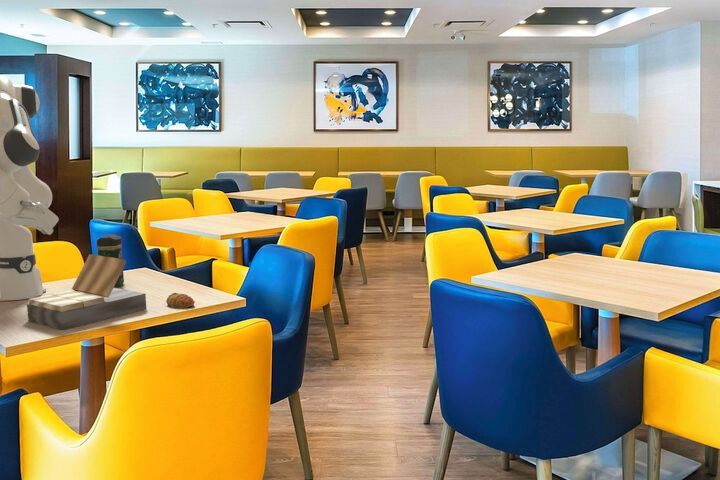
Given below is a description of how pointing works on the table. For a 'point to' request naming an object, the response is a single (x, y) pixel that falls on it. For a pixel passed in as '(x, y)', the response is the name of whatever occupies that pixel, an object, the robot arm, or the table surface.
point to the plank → (99, 275)
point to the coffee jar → (111, 251)
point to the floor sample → (82, 307)
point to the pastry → (180, 300)
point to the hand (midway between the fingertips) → (49, 232)
